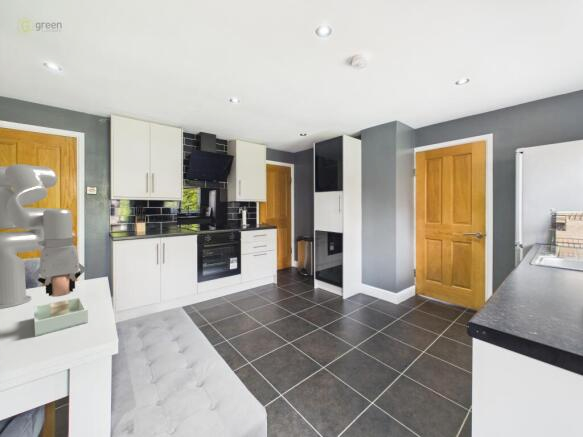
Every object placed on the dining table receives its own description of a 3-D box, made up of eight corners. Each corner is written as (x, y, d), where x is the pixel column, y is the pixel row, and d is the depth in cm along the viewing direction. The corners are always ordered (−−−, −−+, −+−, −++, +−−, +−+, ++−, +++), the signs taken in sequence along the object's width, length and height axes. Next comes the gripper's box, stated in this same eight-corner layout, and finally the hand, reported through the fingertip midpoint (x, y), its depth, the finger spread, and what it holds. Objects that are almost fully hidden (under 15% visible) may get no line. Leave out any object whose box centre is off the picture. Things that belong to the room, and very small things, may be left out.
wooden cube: (51, 320, 91) (50, 307, 91) (50, 316, 94) (50, 303, 94) (69, 316, 95) (68, 303, 94) (68, 312, 98) (67, 299, 98)
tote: (34, 319, 93) (34, 306, 93) (81, 308, 103) (80, 297, 102) (35, 336, 81) (34, 322, 81) (87, 322, 91) (87, 309, 91)
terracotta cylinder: (47, 296, 86) (46, 276, 86) (63, 291, 91) (62, 272, 91) (58, 297, 85) (57, 277, 85) (73, 292, 90) (73, 273, 90)
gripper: (23, 247, 79) (26, 302, 80) (91, 242, 91) (92, 289, 92) (24, 244, 84) (26, 296, 85) (87, 240, 96) (89, 285, 97)
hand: (61, 292), depth 88 cm, fingers closed on terracotta cylinder, 4 cm apart
